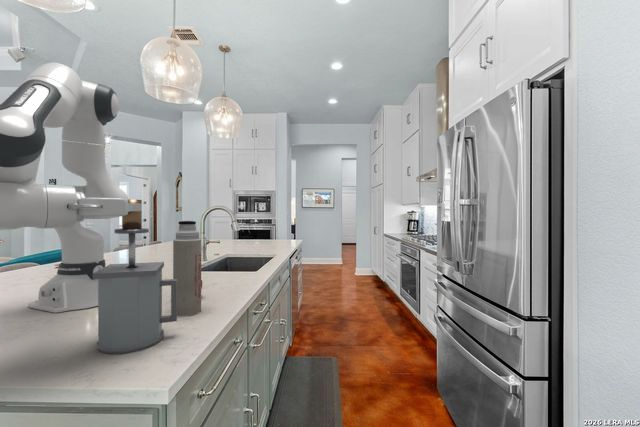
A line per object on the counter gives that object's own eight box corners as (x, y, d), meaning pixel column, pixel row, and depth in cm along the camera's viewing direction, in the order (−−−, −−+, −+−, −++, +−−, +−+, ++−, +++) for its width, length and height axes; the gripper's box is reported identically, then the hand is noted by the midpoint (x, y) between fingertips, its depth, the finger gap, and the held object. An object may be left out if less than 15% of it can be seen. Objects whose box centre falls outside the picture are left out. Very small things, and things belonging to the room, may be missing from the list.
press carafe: (87, 358, 66) (87, 274, 66) (107, 333, 79) (107, 263, 79) (173, 347, 71) (174, 270, 71) (179, 326, 84) (179, 260, 84)
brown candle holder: (100, 285, 68) (100, 198, 68) (113, 276, 78) (113, 200, 77) (151, 282, 71) (151, 199, 71) (158, 273, 81) (158, 200, 81)
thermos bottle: (206, 308, 99) (206, 220, 99) (191, 317, 92) (191, 221, 91) (183, 306, 101) (184, 220, 101) (167, 315, 93) (167, 221, 93)
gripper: (74, 189, 58) (153, 192, 68) (52, 192, 71) (121, 195, 81) (74, 223, 58) (153, 221, 68) (52, 220, 71) (121, 219, 82)
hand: (136, 207), depth 75 cm, fingers closed on brown candle holder, 4 cm apart
